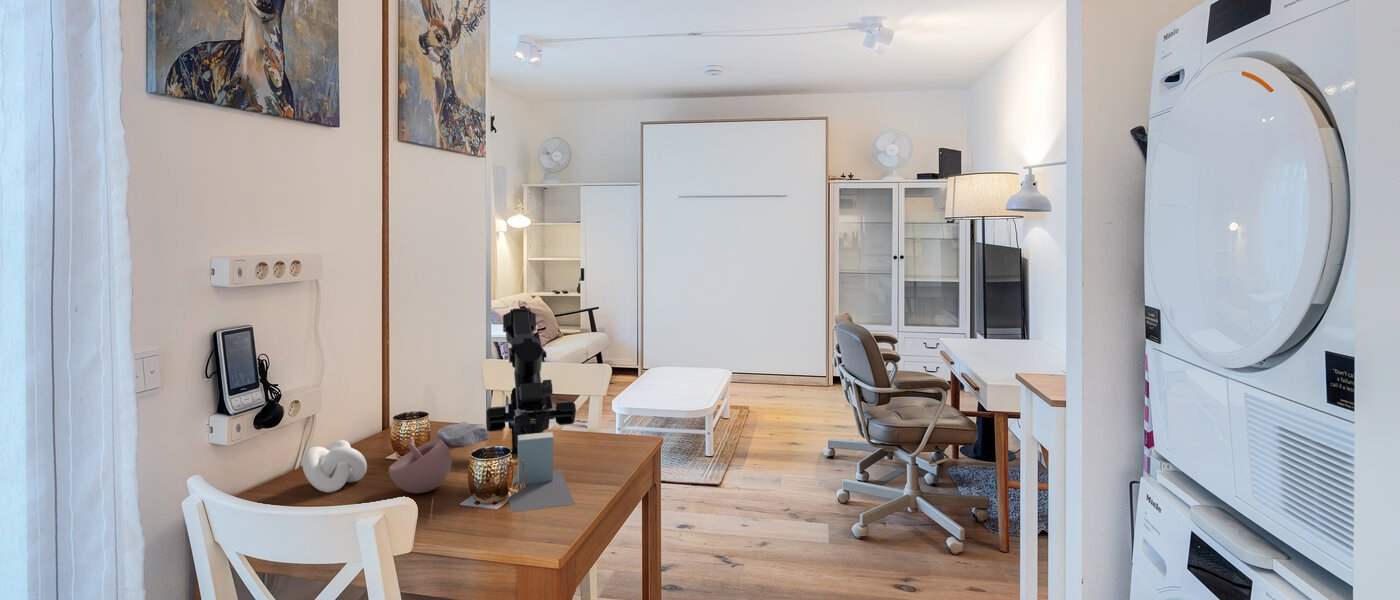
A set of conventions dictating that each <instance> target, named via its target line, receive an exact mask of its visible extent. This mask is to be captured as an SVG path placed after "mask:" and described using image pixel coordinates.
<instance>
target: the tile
mask: <svg viewBox="0 0 1400 600" xmlns="http://www.w3.org/2000/svg"><path fill="white" fill-rule="evenodd" d="M519 460H523V463H524V470H525V484H530V483H539V482H548V481H553V470H554V432H553V431H549V432H543V433H535V434H524V435H518V453H517V474H518V482H519V485H520V484H522V482H523V474H524V470H523V464H522V462H521V461H519Z"/></svg>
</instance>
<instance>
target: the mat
mask: <svg viewBox="0 0 1400 600" xmlns="http://www.w3.org/2000/svg"><path fill="white" fill-rule="evenodd" d="M513 475H514V482H513V487H515V486H516V484H517V485H518V483H519V482H518V473H517V474H513ZM518 488H519V491H518V492H517V493H514V494H512V495H511V496H510V497H509V498H508V497H507V499H508V504H509V509H510V513H517V512H524V511H533V510H534V511H535V510H540V509H549V508H557V507H564V506H565V507H566V506H571V505H575V504H576V503H575V500H574V498H573V496H572V493H571V491H570V488H569V486H568V484H567V482H566V479H565V477H564V475H563V472H562V470H561V469H553V481H548V482H539V483H530V484H525V487H524V488H523V489H522V490H521V489H520V485H518Z"/></svg>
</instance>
